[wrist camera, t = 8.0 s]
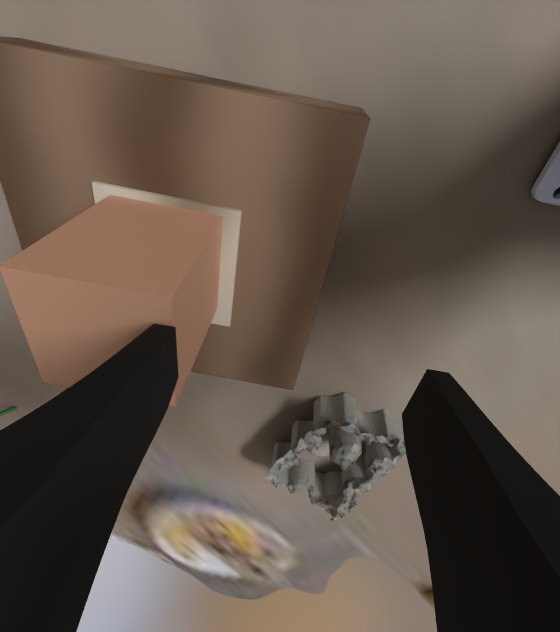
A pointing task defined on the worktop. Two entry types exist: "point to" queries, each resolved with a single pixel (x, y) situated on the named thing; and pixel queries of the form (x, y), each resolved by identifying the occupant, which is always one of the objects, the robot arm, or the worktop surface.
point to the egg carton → (338, 453)
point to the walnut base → (189, 180)
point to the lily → (8, 410)
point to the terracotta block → (116, 285)
